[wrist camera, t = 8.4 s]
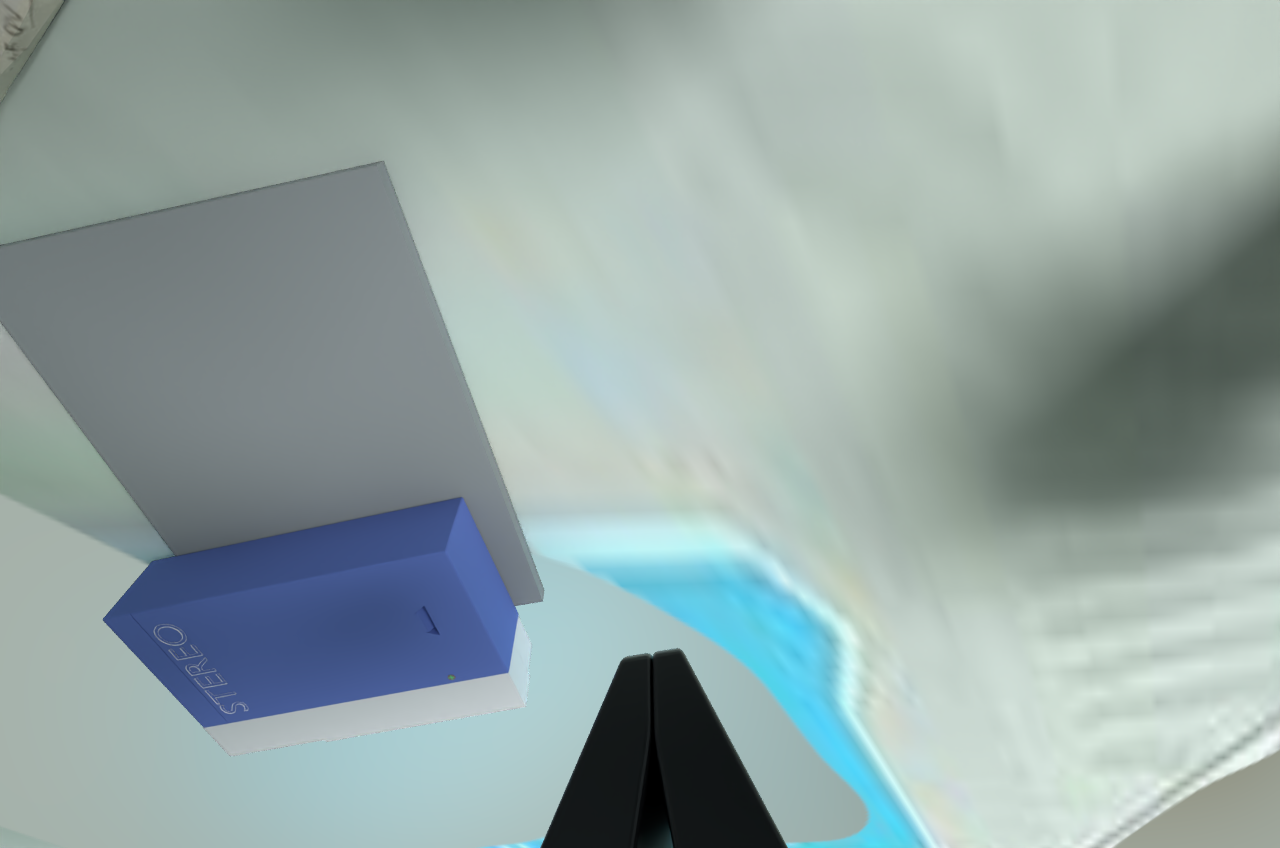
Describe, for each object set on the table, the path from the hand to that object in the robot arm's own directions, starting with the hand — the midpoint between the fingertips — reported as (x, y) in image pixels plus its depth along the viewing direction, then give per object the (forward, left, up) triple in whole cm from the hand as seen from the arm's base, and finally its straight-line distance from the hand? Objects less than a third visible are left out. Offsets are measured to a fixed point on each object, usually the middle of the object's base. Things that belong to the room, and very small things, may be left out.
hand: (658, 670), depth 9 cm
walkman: (+7, +9, -11) cm, 15 cm away
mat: (+12, +2, -13) cm, 17 cm away
